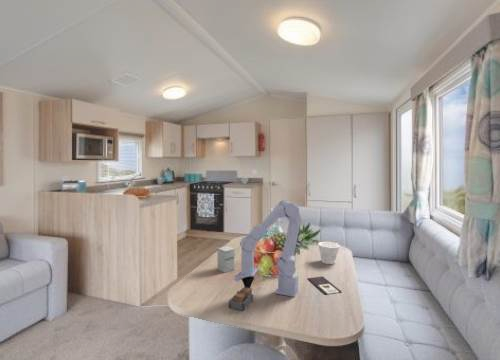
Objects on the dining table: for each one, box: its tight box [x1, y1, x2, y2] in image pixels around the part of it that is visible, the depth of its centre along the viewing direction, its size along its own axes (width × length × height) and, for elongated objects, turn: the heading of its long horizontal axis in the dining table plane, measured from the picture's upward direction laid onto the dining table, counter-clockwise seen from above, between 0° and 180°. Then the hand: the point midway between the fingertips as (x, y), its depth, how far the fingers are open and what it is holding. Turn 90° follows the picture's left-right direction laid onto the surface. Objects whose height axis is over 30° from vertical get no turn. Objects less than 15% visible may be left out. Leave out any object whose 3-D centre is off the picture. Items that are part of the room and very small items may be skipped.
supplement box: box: [217, 245, 236, 273], centre depth 165 cm, size 7×7×13 cm
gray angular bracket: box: [228, 290, 254, 312], centre depth 127 cm, size 8×10×3 cm
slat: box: [233, 286, 253, 303], centre depth 128 cm, size 10×4×5 cm, turn 152°
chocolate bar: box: [307, 276, 342, 295], centre depth 146 cm, size 9×1×18 cm
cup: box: [318, 241, 340, 265], centre depth 178 cm, size 12×12×11 cm
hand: (247, 291), depth 133 cm, fingers closed
